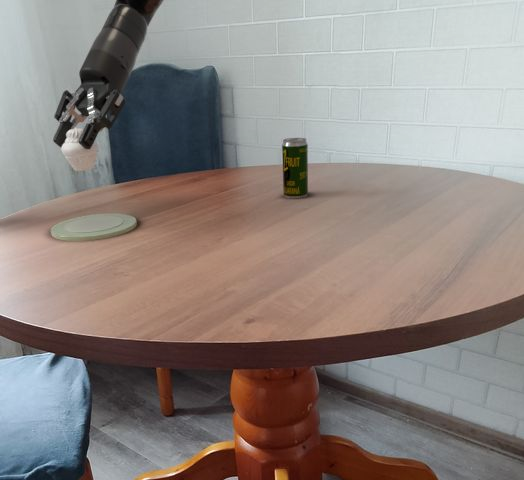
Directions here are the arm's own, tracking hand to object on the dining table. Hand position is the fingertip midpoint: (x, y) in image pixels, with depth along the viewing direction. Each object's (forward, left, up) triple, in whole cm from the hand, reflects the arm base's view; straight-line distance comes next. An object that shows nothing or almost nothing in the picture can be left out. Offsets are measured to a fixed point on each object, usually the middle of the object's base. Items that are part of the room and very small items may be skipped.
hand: (71, 145), depth 93 cm
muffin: (+1, +2, -4) cm, 5 cm away
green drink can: (+35, +29, -16) cm, 48 cm away
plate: (-1, +4, -16) cm, 16 cm away
